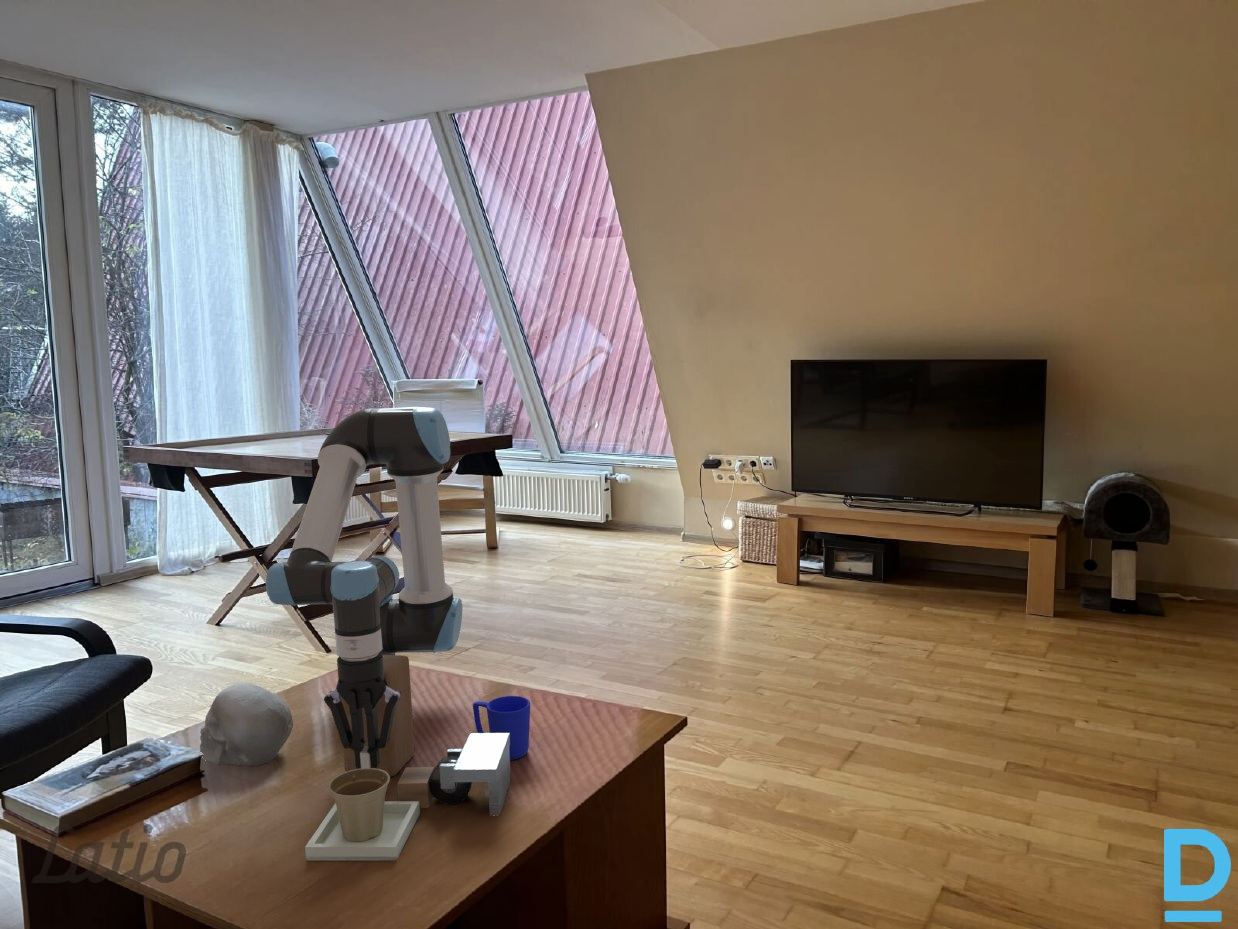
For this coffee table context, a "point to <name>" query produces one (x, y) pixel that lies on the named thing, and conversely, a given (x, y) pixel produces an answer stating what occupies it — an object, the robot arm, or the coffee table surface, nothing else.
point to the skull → (245, 726)
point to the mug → (508, 721)
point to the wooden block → (402, 726)
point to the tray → (382, 847)
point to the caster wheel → (474, 770)
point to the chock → (416, 785)
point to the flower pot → (360, 802)
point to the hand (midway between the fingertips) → (369, 785)
